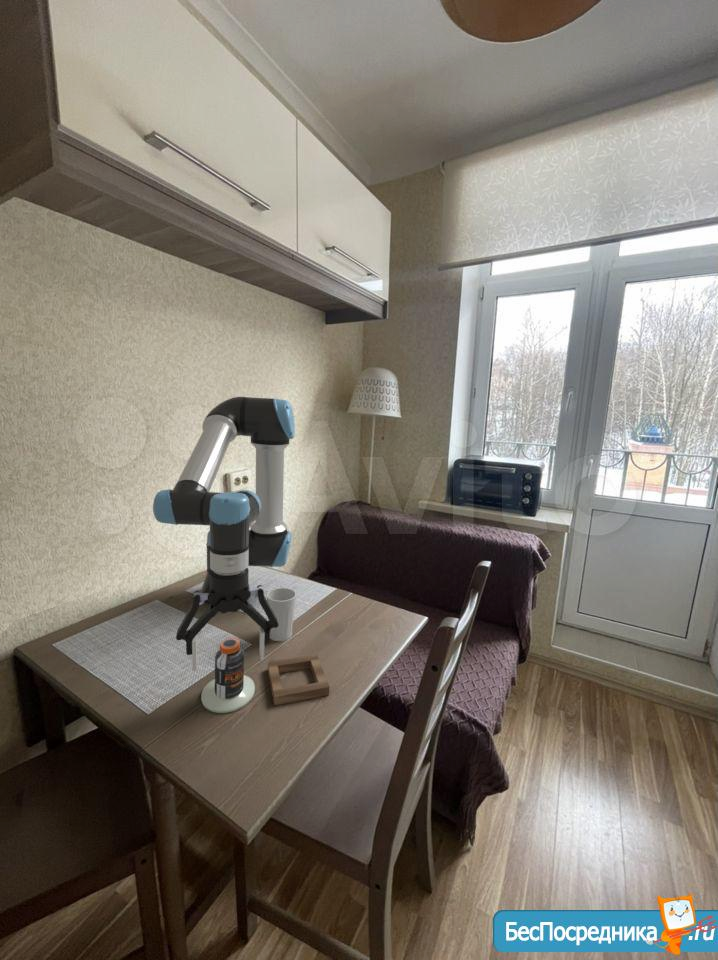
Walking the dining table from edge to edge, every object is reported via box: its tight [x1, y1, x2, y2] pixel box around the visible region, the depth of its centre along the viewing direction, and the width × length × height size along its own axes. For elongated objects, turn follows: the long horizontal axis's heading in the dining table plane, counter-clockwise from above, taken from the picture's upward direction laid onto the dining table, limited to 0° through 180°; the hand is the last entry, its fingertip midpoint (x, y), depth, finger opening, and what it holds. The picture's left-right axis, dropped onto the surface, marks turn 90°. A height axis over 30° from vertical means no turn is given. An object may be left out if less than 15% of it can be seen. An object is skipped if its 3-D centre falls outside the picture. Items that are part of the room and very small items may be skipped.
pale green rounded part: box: [201, 674, 256, 714], centre depth 84 cm, size 11×11×1 cm
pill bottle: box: [214, 637, 245, 699], centre depth 83 cm, size 6×6×11 cm
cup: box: [266, 587, 297, 642], centre depth 106 cm, size 8×8×12 cm
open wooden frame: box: [267, 654, 330, 706], centre depth 89 cm, size 12×12×2 cm
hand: (229, 661), depth 83 cm, fingers open, 13 cm apart
